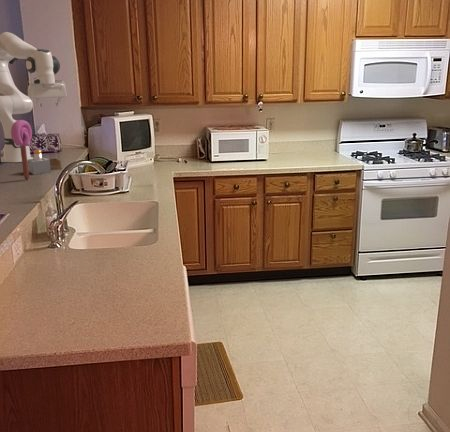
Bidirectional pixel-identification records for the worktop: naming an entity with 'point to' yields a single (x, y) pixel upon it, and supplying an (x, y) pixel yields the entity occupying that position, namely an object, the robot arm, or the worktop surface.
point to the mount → (55, 164)
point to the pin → (38, 155)
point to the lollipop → (22, 141)
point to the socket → (39, 166)
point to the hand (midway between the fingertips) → (48, 106)
